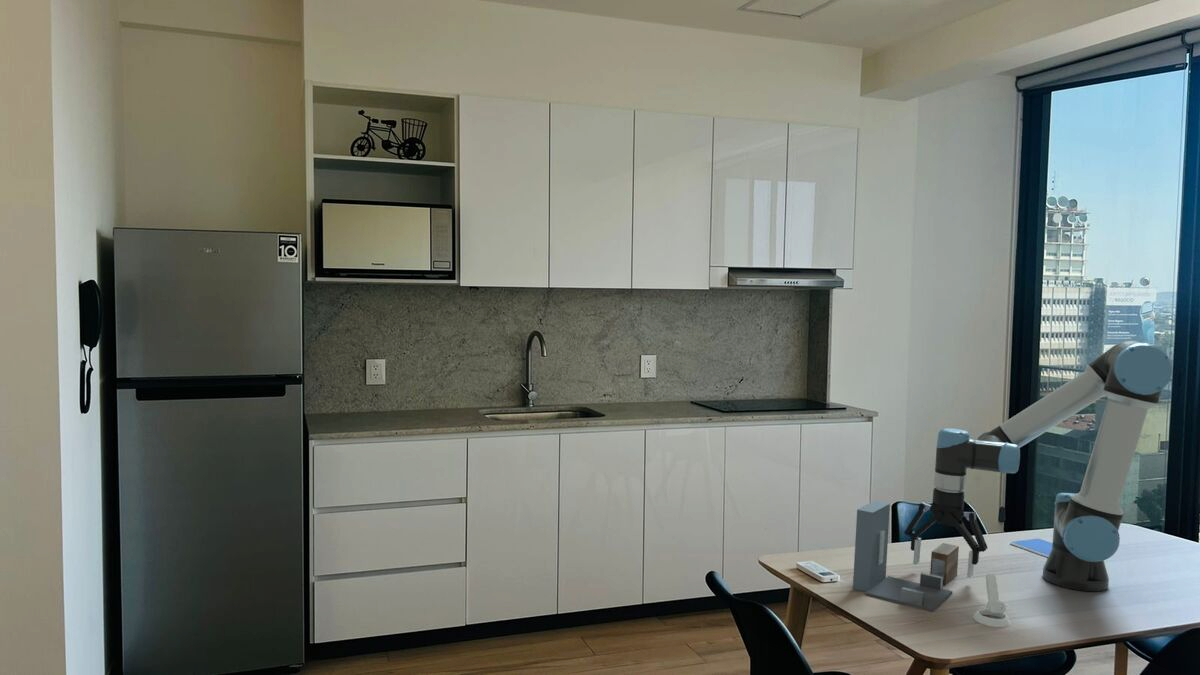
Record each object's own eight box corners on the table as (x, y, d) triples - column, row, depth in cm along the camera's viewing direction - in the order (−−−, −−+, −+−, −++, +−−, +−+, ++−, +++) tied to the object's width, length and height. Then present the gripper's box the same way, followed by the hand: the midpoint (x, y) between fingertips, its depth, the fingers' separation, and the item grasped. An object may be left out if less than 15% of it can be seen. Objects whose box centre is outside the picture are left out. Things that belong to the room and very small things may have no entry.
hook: (989, 585, 210) (1010, 577, 204) (997, 636, 203) (1018, 629, 197) (962, 579, 208) (982, 571, 202) (969, 631, 201) (990, 624, 196)
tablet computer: (1096, 561, 249) (1097, 557, 249) (1065, 566, 244) (1065, 561, 244) (1038, 542, 267) (1038, 537, 267) (1008, 545, 262) (1008, 541, 262)
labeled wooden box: (957, 575, 231) (958, 546, 231) (945, 586, 223) (947, 555, 222) (941, 572, 234) (943, 542, 233) (929, 582, 225) (930, 552, 225)
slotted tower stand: (952, 593, 218) (957, 514, 216) (932, 611, 205) (937, 527, 204) (873, 574, 230) (877, 499, 228) (849, 590, 217) (854, 511, 216)
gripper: (1004, 495, 222) (997, 577, 224) (905, 478, 238) (899, 554, 239) (997, 501, 217) (989, 585, 218) (895, 482, 232) (890, 561, 233)
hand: (942, 569), depth 229 cm, fingers open, 13 cm apart
